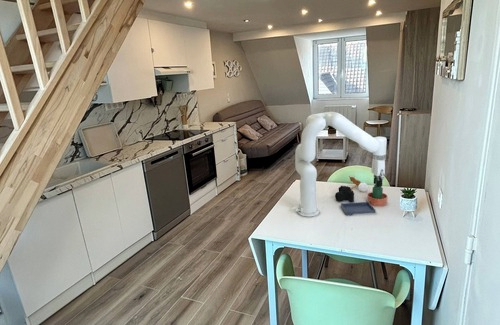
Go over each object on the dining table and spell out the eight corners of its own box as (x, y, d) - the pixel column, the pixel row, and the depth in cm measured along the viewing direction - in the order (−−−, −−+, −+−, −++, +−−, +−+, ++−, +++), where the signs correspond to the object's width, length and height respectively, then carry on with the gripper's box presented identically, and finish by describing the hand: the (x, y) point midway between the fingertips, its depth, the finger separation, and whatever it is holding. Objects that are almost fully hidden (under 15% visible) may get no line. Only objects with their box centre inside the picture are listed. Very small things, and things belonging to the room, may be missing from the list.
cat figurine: (367, 180, 211) (350, 169, 226) (354, 190, 210) (338, 179, 225) (372, 192, 218) (356, 180, 233) (360, 202, 217) (344, 190, 232)
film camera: (330, 197, 213) (330, 184, 210) (343, 194, 215) (343, 182, 212) (343, 205, 198) (343, 192, 196) (356, 202, 201) (356, 189, 198)
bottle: (374, 204, 195) (375, 178, 190) (370, 201, 200) (371, 175, 196) (383, 204, 195) (385, 177, 190) (379, 200, 200) (381, 174, 195)
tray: (346, 215, 185) (346, 211, 184) (340, 206, 196) (340, 203, 196) (375, 213, 184) (375, 209, 184) (367, 205, 196) (368, 201, 195)
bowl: (371, 208, 192) (371, 199, 190) (364, 200, 204) (364, 192, 202) (390, 206, 192) (391, 198, 190) (382, 199, 203) (382, 191, 202)
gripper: (367, 153, 197) (366, 180, 202) (378, 161, 181) (377, 190, 186) (379, 153, 197) (378, 180, 202) (391, 160, 181) (389, 189, 186)
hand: (377, 184), depth 194 cm, fingers open, 4 cm apart
